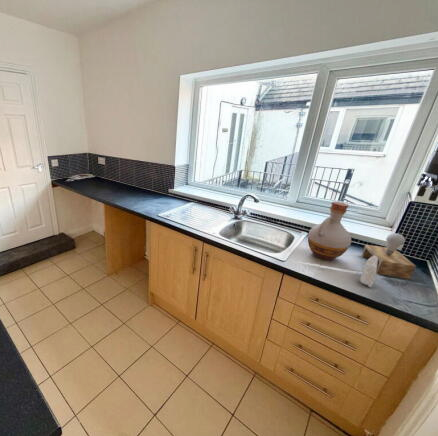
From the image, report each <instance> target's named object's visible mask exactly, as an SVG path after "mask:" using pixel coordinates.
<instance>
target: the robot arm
mask: <svg viewBox="0 0 438 436" xmlns="http://www.w3.org/2000/svg"><path fill="white" fill-rule="evenodd" d="M416 186H417V187H418V191H417V194H416V196H417V197H424V196H425V194H426V191H427V189H428V187H430V189H431V192H430V195H429V197H428V201H430V202H436V201H437V199H438V141H437V142H436V144H435V146H434V149H433V151H432V153H431V154H430V157H429V159H428V161H427V163H426V166H425V169H424V173H423V172H422V173H421V175H420V176H419V179H418V181H417V184H416Z"/></svg>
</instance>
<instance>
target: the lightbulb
mask: <svg viewBox="0 0 438 436" xmlns="http://www.w3.org/2000/svg"><path fill="white" fill-rule="evenodd" d="M385 240H386V244H387V245H386V248H387V250H386V253H387V254H389V255H390V254H393V253H394V251H395V250H397V249H398V248H400V247H401V246H403V245H404V243H405V241H406V238H405V237H404V235H402V234H400V233H395V232H394V233H390V234H388V235H387V237H386V239H385Z"/></svg>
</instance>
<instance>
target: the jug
mask: <svg viewBox="0 0 438 436" xmlns="http://www.w3.org/2000/svg"><path fill="white" fill-rule="evenodd" d="M349 206H350V205H349V204H348V203H345V202H341V201H331V207H329V211H330V215H329V216H328V217H326V218H325V219H324V220H323V221H322V222H321V223H319V224H316V225H314V226H312V228H311V229H309V231H308V233H307V234H308V235H307V243H308V247H309V249H310V251H311V252H312V254H313V256H314V257H316V258H317V259H320V260H323V261H332V260H335V259H336V258H337V259H338V258H339V257H341V256H343V255H344V254H345V253H346V252H347V251H348V249H349V248H350V246H351V244H352V236H351V235H350V234H351V233H349V232H348V230H347V229H346V228H345V227H344V225H343V224H342V223H341V222H342V218H343V217H344V215H345V214H346V213H347V211H348V210H347V209H348V208H349Z"/></svg>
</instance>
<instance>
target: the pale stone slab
mask: <svg viewBox="0 0 438 436" xmlns="http://www.w3.org/2000/svg"><path fill="white" fill-rule="evenodd" d="M378 264H379V261H378V259H377V257H375V256H372V257H371V258H367V260H366V262H365V263H364V265H363V267H362V268H361V272H362V274H361V276H360V279H359V280H360V282H361V283H362V284H363V285H367V286H368V287H369V288H372V287H373V283H374V282H375V279H376V277H377V273H376V270H377V267H378Z"/></svg>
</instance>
